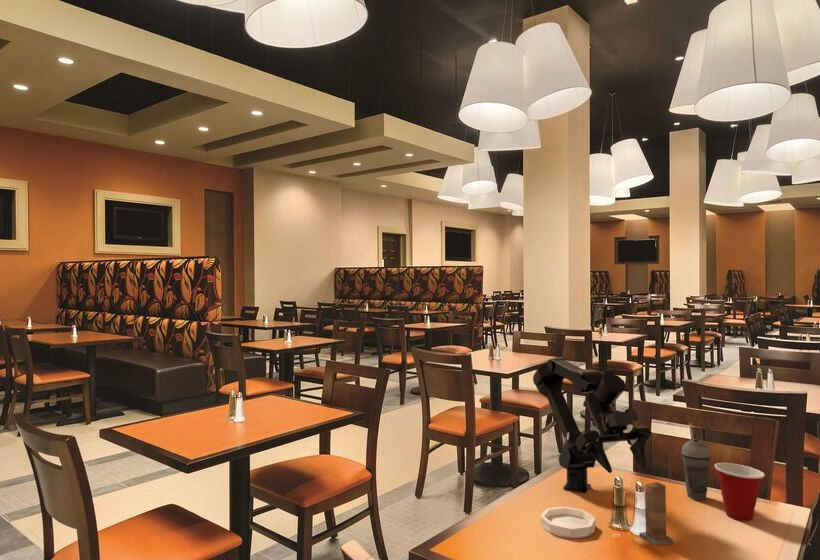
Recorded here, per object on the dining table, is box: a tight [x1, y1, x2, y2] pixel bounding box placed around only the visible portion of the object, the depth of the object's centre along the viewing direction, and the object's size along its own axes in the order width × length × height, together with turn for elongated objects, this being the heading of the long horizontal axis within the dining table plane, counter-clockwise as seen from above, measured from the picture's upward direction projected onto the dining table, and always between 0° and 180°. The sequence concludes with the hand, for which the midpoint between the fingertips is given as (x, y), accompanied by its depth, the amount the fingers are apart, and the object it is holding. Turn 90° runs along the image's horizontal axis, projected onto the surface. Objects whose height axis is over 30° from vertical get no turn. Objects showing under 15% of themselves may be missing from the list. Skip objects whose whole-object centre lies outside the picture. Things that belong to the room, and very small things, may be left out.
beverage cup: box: [680, 423, 712, 502], centre depth 149 cm, size 7×7×20 cm
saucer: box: [540, 506, 596, 539], centre depth 133 cm, size 12×12×2 cm
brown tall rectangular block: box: [639, 481, 674, 547], centre depth 126 cm, size 5×5×12 cm
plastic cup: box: [714, 462, 766, 522], centre depth 137 cm, size 11×11×12 cm
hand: (627, 470), depth 134 cm, fingers open, 9 cm apart
